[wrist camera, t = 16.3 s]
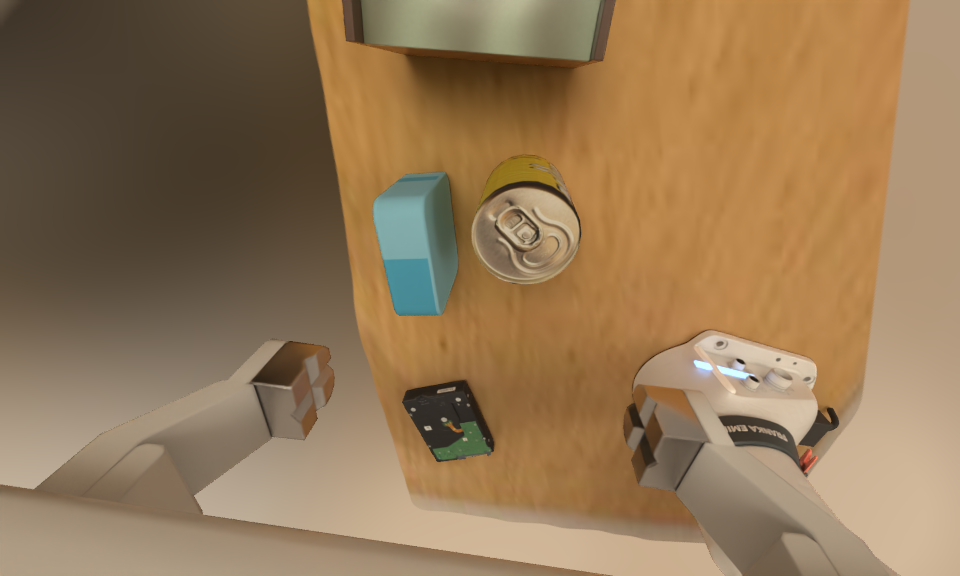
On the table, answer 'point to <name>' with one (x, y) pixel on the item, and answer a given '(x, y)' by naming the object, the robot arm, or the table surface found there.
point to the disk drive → (449, 421)
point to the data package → (417, 242)
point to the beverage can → (525, 222)
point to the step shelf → (485, 29)
